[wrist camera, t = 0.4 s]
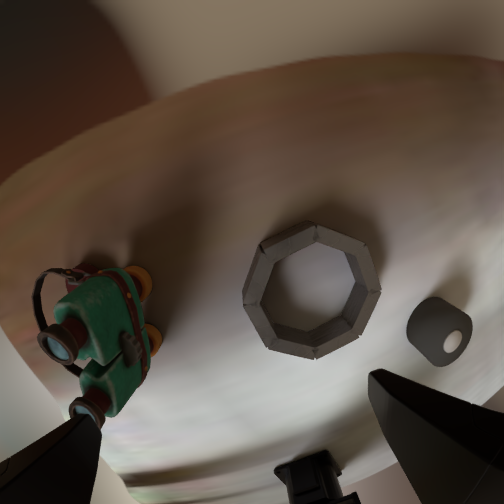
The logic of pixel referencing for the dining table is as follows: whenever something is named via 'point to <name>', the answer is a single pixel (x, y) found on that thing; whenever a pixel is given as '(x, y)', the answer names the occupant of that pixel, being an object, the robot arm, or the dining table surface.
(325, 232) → the barrel ring
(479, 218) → the dining table surface
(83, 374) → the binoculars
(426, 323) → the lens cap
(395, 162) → the dining table surface
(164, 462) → the dining table surface
